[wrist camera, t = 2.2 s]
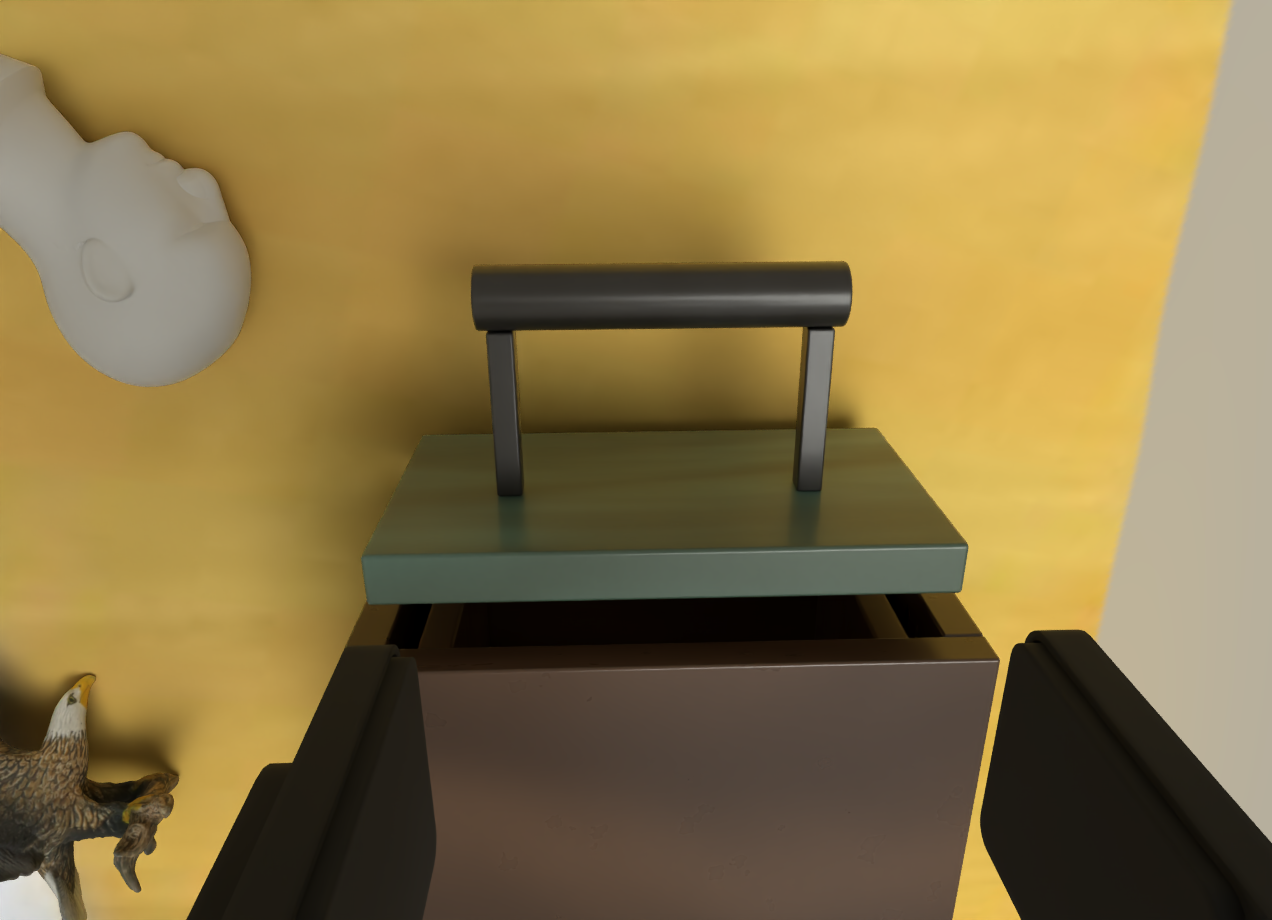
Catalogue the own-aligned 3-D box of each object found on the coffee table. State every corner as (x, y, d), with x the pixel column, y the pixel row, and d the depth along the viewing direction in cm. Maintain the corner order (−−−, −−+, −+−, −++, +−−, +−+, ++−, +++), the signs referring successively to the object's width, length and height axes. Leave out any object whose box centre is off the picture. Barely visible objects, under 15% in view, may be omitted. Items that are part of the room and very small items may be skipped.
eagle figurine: (220, 671, 27) (-134, 594, 24) (132, 937, 23) (-305, 888, 20) (194, 728, 33) (-94, 672, 30) (119, 948, 29) (-221, 913, 26)
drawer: (401, 237, 23) (322, 298, 16) (898, 232, 23) (1010, 291, 17) (463, 837, 30) (426, 1038, 24) (834, 826, 31) (894, 1021, 24)
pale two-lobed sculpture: (309, 295, 25) (150, 398, 25) (103, 20, 22) (-84, 130, 22) (304, 309, 21) (114, 432, 21) (53, -24, 18) (-179, 109, 18)
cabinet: (414, 492, 26) (331, 675, 18) (881, 484, 27) (1001, 659, 19) (458, 888, 33) (409, 1156, 24) (837, 876, 33) (913, 1137, 25)
